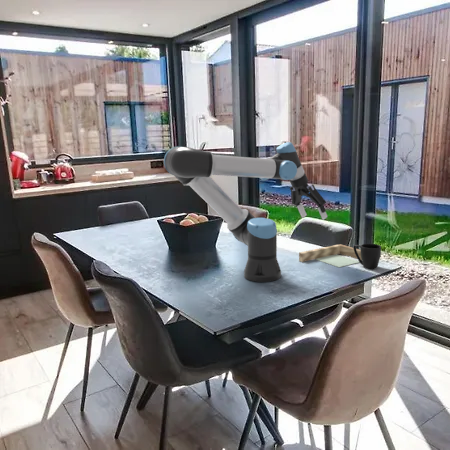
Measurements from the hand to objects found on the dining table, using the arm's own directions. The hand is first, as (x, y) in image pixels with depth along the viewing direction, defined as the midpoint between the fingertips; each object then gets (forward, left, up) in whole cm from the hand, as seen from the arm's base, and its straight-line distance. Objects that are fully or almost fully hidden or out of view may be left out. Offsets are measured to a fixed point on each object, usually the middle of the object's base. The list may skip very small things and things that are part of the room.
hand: (314, 217), depth 196 cm
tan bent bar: (+5, -7, -19) cm, 21 cm away
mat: (+6, -9, -19) cm, 22 cm away
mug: (+10, -22, -20) cm, 31 cm away
